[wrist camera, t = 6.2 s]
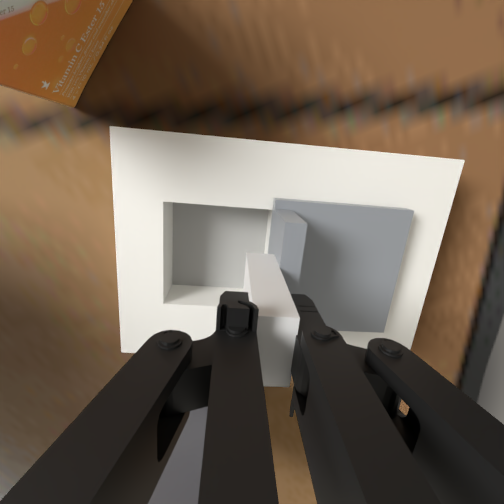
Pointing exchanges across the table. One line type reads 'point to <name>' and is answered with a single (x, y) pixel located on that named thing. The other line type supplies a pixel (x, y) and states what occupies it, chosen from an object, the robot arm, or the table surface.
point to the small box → (55, 44)
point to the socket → (251, 221)
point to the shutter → (341, 258)
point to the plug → (184, 464)
